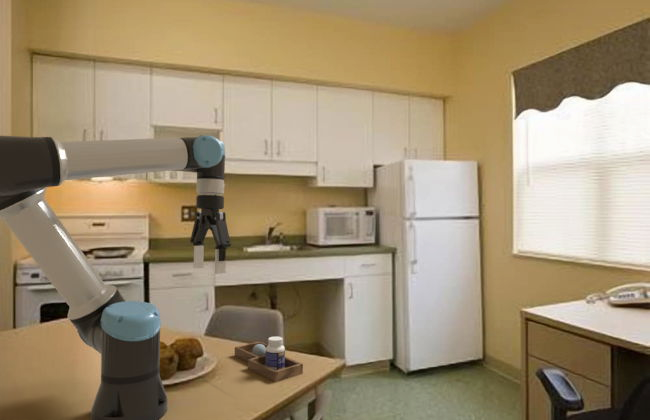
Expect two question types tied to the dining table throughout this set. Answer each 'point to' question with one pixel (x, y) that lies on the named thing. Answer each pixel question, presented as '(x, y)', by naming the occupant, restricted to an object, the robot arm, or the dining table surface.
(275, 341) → the pill bottle
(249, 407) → the dining table surface
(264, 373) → the cradle
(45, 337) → the dining table surface
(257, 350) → the ball
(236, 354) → the cradle
